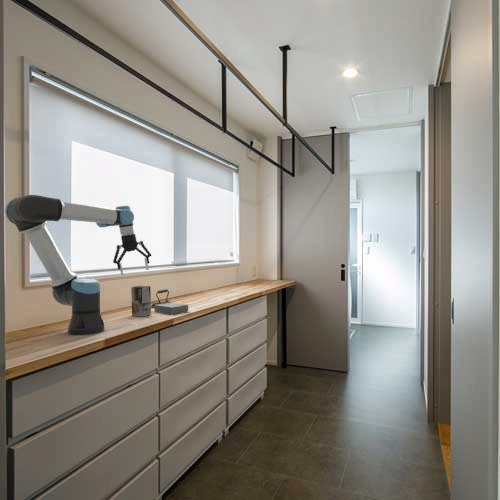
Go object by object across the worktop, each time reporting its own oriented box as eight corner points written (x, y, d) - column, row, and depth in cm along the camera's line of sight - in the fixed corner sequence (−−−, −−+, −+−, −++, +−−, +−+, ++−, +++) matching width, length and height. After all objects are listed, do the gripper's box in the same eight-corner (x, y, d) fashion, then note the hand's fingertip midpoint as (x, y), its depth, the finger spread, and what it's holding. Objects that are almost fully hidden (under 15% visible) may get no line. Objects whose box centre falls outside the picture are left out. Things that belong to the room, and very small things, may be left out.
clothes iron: (162, 308, 228) (161, 291, 228) (150, 307, 233) (150, 290, 233) (176, 305, 241) (176, 288, 241) (165, 304, 245) (165, 288, 245)
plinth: (171, 314, 206) (171, 307, 206) (154, 311, 216) (154, 305, 216) (188, 311, 215) (188, 304, 215) (171, 309, 225) (171, 302, 225)
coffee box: (151, 314, 206) (151, 286, 206) (142, 316, 201) (142, 287, 201) (140, 313, 211) (139, 285, 211) (131, 315, 206) (130, 286, 206)
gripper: (149, 230, 207) (156, 266, 211) (103, 237, 197) (110, 276, 200) (152, 230, 201) (159, 268, 204) (104, 238, 190) (112, 278, 193)
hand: (135, 272), depth 202 cm, fingers open, 13 cm apart
